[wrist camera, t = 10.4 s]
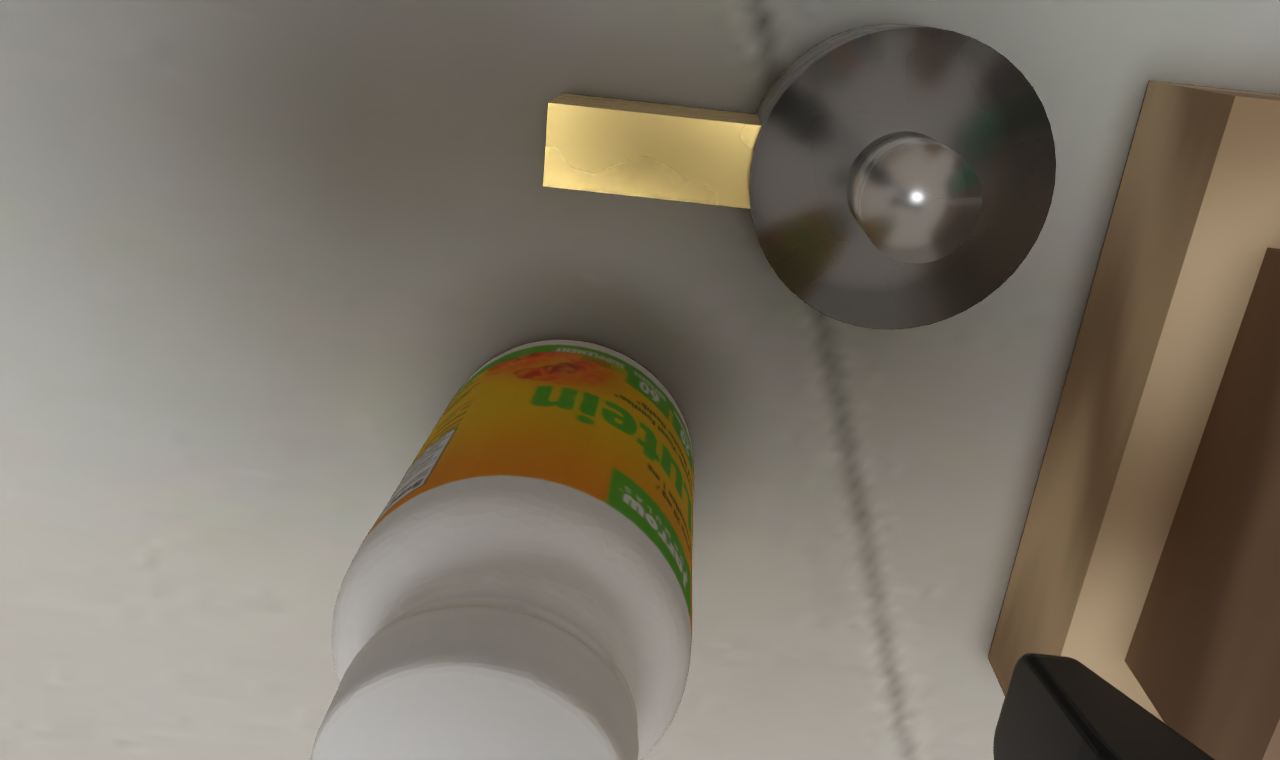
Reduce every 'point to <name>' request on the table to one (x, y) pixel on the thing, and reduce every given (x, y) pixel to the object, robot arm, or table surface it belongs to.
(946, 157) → the door lever handle
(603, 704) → the supplement bottle
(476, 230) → the table surface
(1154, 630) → the tall brown cuboid
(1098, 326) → the peg stand
